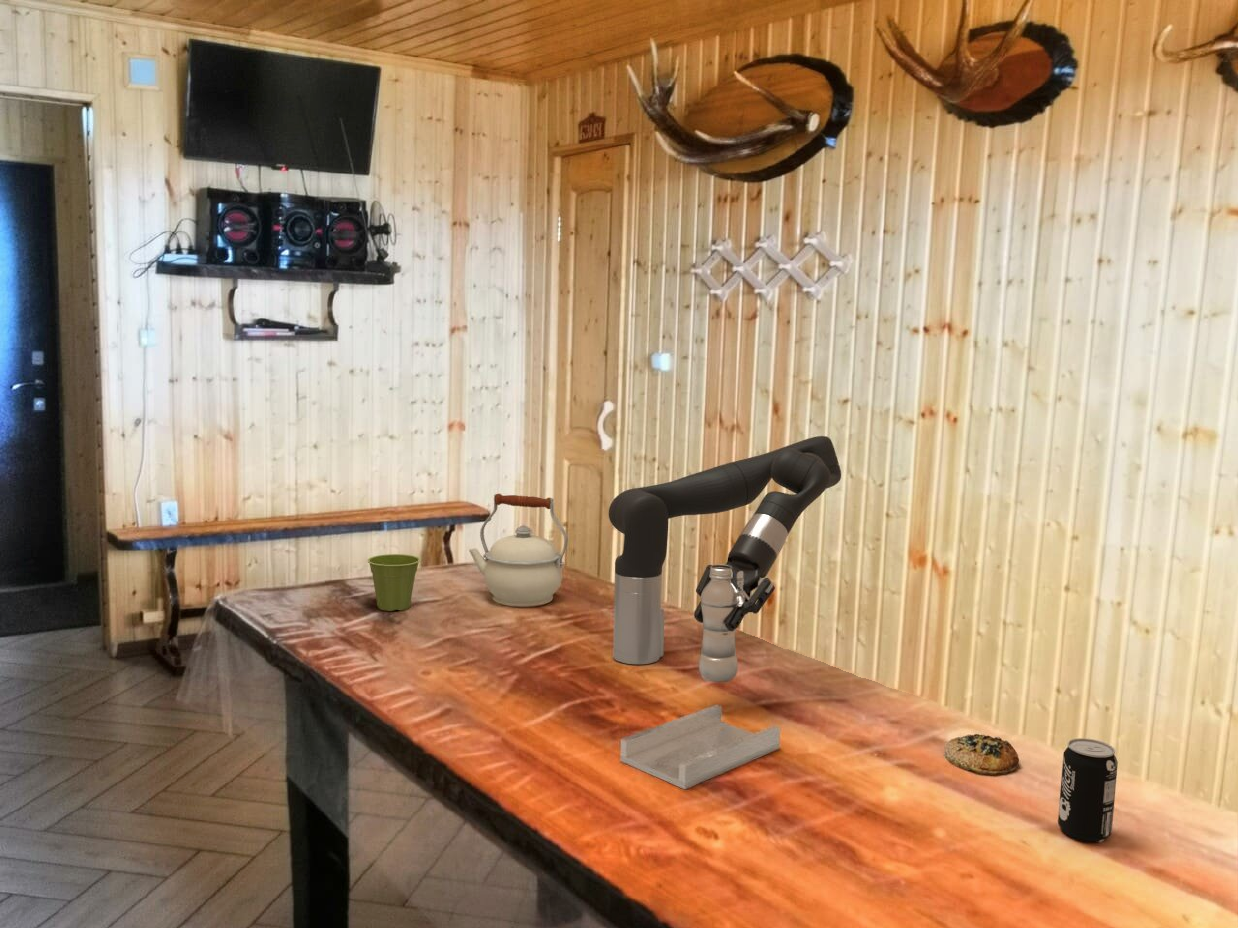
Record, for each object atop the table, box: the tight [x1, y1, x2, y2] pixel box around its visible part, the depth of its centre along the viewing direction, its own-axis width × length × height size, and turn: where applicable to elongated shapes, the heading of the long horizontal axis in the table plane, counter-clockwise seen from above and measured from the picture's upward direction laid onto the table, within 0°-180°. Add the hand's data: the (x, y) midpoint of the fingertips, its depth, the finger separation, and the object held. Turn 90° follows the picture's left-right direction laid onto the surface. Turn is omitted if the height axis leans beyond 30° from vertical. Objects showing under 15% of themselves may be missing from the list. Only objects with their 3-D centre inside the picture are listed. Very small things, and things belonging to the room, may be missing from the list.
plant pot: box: [366, 553, 422, 612], centre depth 244 cm, size 12×12×11 cm
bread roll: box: [943, 733, 1020, 776], centre depth 165 cm, size 11×11×5 cm
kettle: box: [468, 493, 569, 608], centre depth 253 cm, size 25×18×25 cm
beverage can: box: [1057, 738, 1119, 843], centre depth 142 cm, size 7×7×12 cm
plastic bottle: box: [698, 564, 739, 683], centre depth 183 cm, size 6×7×20 cm
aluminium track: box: [619, 704, 781, 790], centre depth 166 cm, size 22×13×4 cm, turn 134°
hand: (712, 623), depth 182 cm, fingers closed on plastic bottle, 6 cm apart
